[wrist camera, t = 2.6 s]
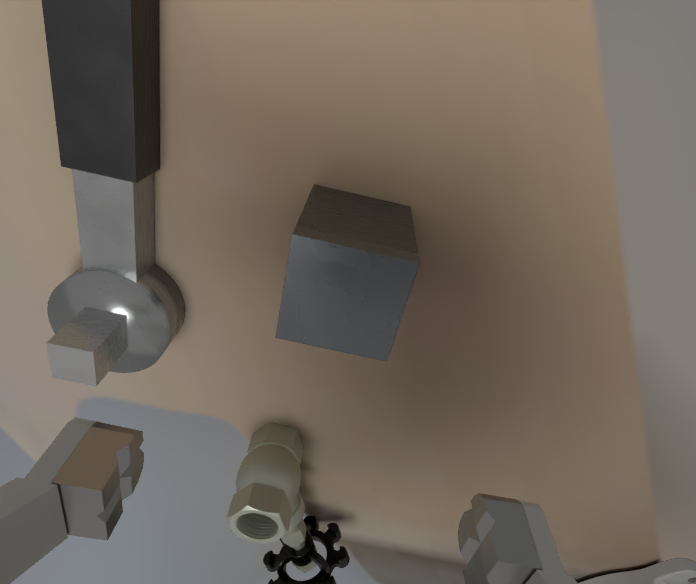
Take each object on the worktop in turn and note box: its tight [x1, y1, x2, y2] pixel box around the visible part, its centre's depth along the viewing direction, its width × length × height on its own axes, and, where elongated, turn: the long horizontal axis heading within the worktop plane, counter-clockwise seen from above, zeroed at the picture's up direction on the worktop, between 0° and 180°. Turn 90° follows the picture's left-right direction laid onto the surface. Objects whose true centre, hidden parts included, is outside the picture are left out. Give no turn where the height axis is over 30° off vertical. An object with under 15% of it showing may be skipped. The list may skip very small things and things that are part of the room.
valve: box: [227, 423, 349, 584], centre depth 31 cm, size 7×7×12 cm
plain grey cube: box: [276, 185, 420, 361], centre depth 21 cm, size 5×5×6 cm
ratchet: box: [42, 0, 185, 386], centre depth 21 cm, size 6×20×6 cm, turn 168°
